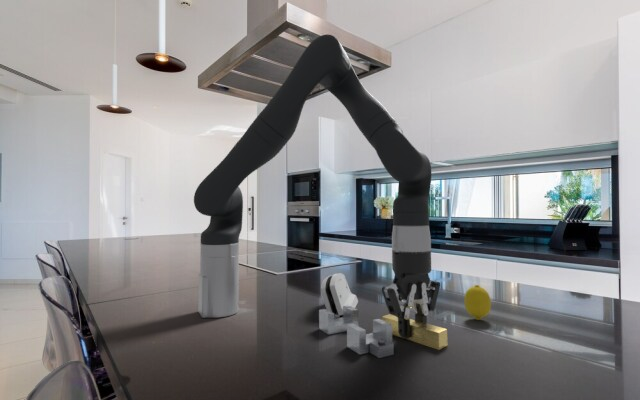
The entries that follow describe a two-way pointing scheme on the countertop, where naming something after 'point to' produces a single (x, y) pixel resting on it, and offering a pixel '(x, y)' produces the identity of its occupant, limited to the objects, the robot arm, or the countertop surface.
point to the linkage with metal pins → (359, 332)
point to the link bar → (421, 332)
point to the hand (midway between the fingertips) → (412, 334)
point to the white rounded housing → (337, 294)
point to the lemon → (477, 302)
